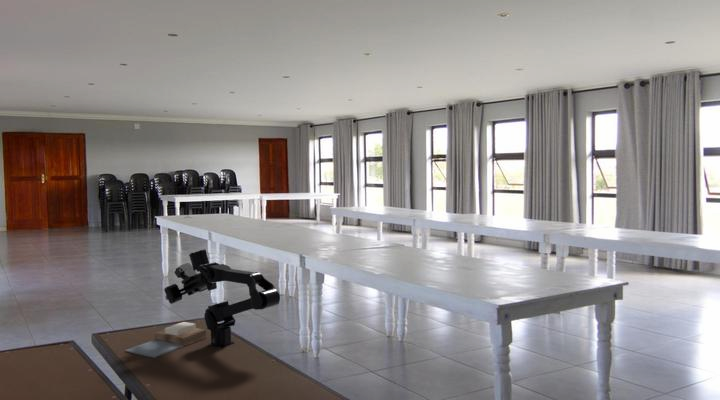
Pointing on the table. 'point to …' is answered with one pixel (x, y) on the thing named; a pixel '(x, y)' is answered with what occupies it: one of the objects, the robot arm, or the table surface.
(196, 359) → the table surface
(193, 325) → the cream rectangular block
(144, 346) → the mat
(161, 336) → the deck
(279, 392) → the table surface
